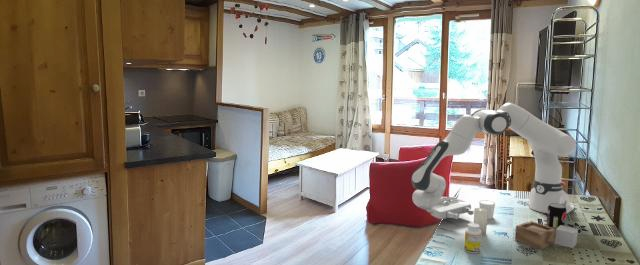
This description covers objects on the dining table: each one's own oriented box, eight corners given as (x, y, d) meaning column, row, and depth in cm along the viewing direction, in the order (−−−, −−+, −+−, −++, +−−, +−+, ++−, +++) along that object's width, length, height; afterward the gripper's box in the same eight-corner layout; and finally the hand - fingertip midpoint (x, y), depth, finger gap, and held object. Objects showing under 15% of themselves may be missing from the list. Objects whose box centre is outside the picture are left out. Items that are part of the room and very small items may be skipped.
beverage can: (558, 237, 157) (560, 208, 156) (542, 231, 163) (544, 204, 162) (567, 234, 160) (570, 206, 159) (552, 228, 166) (554, 201, 165)
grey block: (559, 239, 156) (560, 225, 155) (576, 243, 151) (578, 229, 151) (554, 243, 152) (556, 229, 151) (572, 248, 147) (574, 233, 146)
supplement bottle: (467, 246, 149) (468, 221, 148) (482, 250, 145) (483, 224, 144) (462, 251, 145) (463, 225, 143) (477, 255, 141) (478, 228, 140)
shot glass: (495, 219, 177) (496, 205, 176) (480, 218, 178) (480, 204, 177) (492, 214, 184) (493, 200, 183) (477, 213, 185) (477, 199, 184)
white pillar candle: (478, 229, 166) (479, 207, 164) (488, 233, 161) (490, 210, 160) (470, 232, 163) (471, 209, 162) (480, 236, 159) (482, 212, 157)
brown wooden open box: (530, 234, 160) (531, 220, 159) (554, 243, 151) (556, 229, 150) (515, 240, 155) (516, 225, 154) (539, 249, 146) (541, 234, 145)
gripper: (424, 203, 174) (448, 212, 162) (456, 196, 184) (481, 204, 173) (424, 216, 175) (448, 226, 163) (455, 208, 185) (480, 217, 173)
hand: (465, 215), depth 168 cm, fingers open, 8 cm apart
